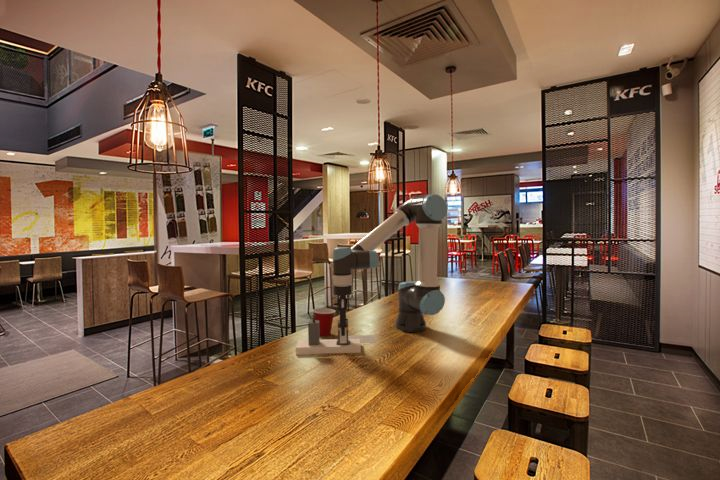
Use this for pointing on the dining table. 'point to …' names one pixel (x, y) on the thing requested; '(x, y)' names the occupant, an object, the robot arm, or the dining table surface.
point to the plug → (339, 333)
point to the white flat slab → (363, 338)
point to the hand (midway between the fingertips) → (343, 339)
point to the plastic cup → (324, 320)
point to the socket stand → (324, 343)
